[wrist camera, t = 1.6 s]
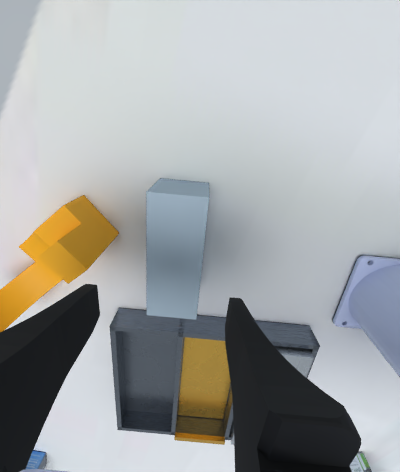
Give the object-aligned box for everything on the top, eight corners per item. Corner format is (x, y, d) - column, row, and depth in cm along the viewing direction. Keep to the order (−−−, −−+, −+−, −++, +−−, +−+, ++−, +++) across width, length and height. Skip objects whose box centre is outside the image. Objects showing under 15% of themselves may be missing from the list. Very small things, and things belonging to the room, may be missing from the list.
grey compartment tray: (309, 325, 25) (323, 353, 22) (275, 421, 32) (282, 452, 29) (119, 307, 25) (106, 332, 22) (124, 407, 32) (115, 437, 29)
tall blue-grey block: (209, 182, 20) (209, 197, 15) (198, 283, 24) (196, 319, 19) (160, 177, 20) (146, 191, 15) (158, 279, 24) (146, 315, 19)
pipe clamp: (84, 194, 21) (34, 219, 15) (119, 232, 22) (87, 269, 16) (2, 265, 24) (-66, 310, 18) (37, 295, 25) (-15, 345, 19)
